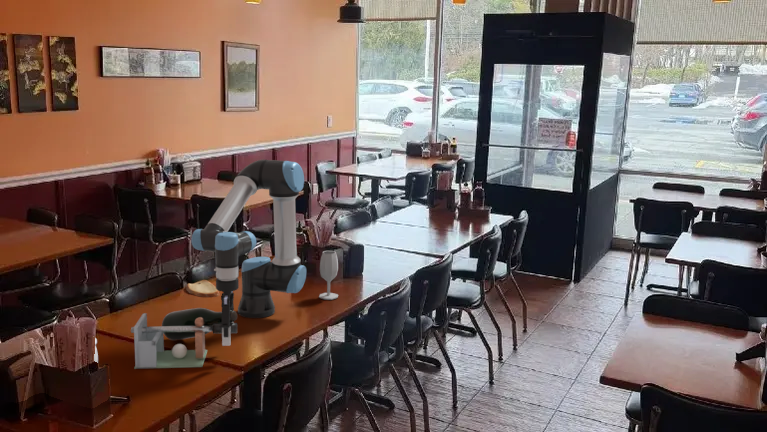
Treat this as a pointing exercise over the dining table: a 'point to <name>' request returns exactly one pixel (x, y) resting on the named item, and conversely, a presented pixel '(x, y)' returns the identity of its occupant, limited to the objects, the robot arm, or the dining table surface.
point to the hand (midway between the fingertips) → (228, 338)
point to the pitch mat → (178, 360)
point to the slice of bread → (203, 289)
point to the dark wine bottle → (192, 321)
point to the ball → (179, 351)
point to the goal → (146, 344)
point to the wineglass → (328, 272)
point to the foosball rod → (198, 330)
